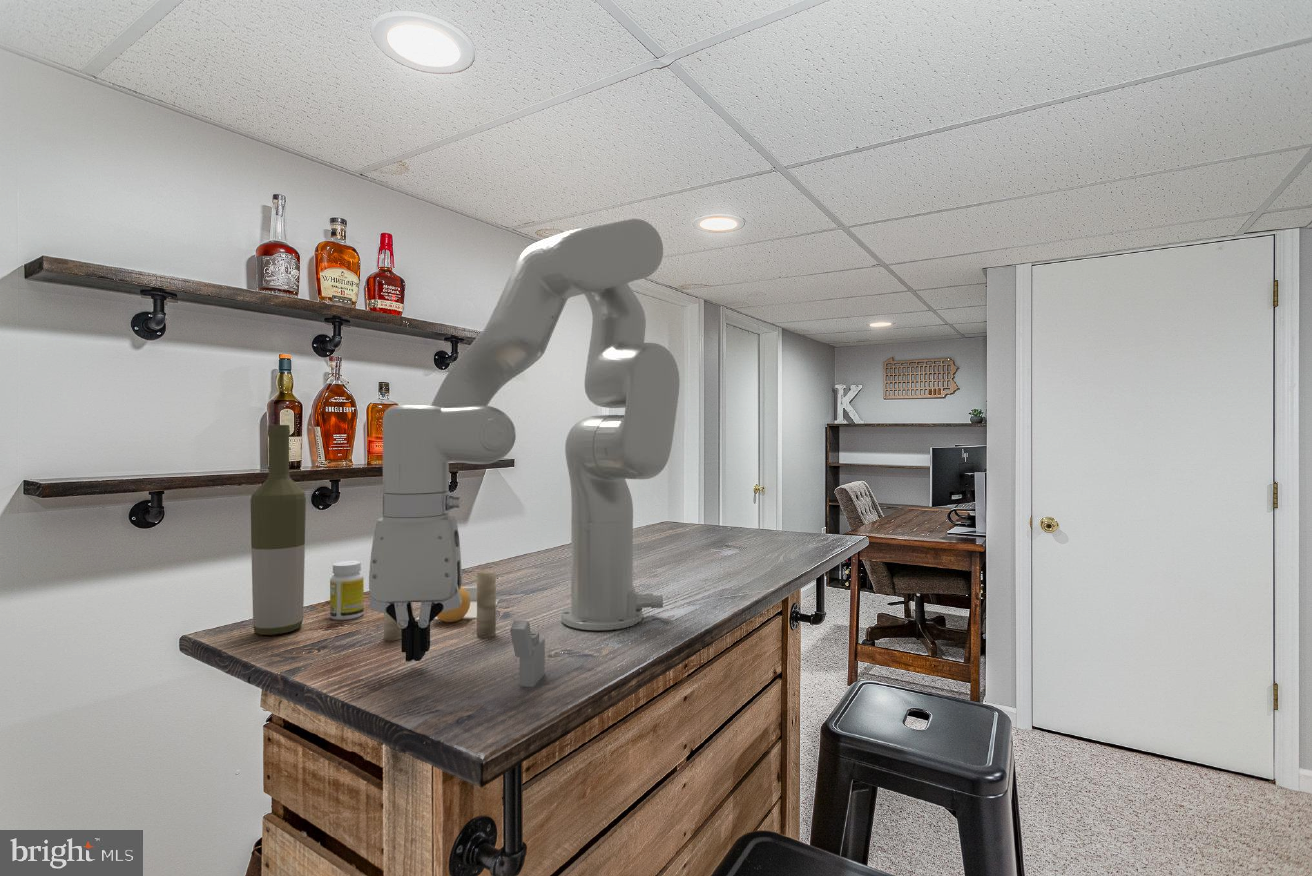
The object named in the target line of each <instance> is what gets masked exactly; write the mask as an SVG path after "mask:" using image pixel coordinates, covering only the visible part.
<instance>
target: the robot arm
mask: <svg viewBox="0 0 1312 876" xmlns="http://www.w3.org/2000/svg"><path fill="white" fill-rule="evenodd" d="M663 244H664V243H663V240H662V237H661V235H660V233H659V232H658V230H657V229H656V228H655V227H654V226H653V225H652V224H651V223H649V222H648V221H645V220H644V219H640V218H631V219H623V220H620V221H614V222H610V223H606V224H599V225H595V226H589V227H588V226H587V227H583V228H578V229H573V230H568V231H564V232H562V233H558V234H556V235H553V236H550V237H548V238H547V237H546V238H544V239H542V240H539V241H537V242H534V243H532V244H530V245H529V246H527V247H526V248H524V250H523V251H522V252H521V254H520V255H519V257H518V258H517V260H516V263H515V265H514V266H513V269H512V271H511V273H510V275H509V277H508V279H507V281H506V283H505V286H504V288H503V290H502V292H501V294H500V296H499V299H498V301H497V303H496V306H495V308H494V309H493V310H492V314H491V315H490V318H489V320H488V321H487V323H486V325H485V327H484V329H483V330H482V331H481V332H480V334H479V335H478V336H477V337H476V338H475V339H474V340H473V341H472V342H471V344H470V345H469V346H468V348H467V349H466V350H465V352H464V353H463V354H462V355H461V356H460V358H459V359H458V360H457V361H456V362H455V364H454V365H453V366H452V367H451V369H450V370H449V372H448V373H447V374H446V376H445V378H444V379H443V380H442V383H441V384H440V386H439V388H438V390H437V393H436V394H435V396H434V398H433V400H432V402H431V405H425V404H422V405H421V404H398V405H391V406H390V407H388V408H387V409H386V410H385V411H384V413H383V416H382V517H379V518H378V519H376V524H375V529H374V533H373V538H372V539H373V540H372V543H371V544H372V545H371V552H370V562H369V571H368V574H369V575H368V593H369V596H370V600H369V602H368V609H369V610H370V611H373V612H377V613H383V614H384V613H387V614H388V615H389V616H391V617H392V618H393V619H394V620H395V621H396V622H397V624H398V626H399V627H400V628H401V639H400V640H401V643H400V644H401V645H400V646H401V647H400V648H401V653H405V662H411V661H415V662H420V661H421V660H423V657H424V656H425V655H426V652H427V653H428V652H429V651H430V648H431V623H432V622H433V621H434V620H433V619H434V618H435V617H436V616H437V615H438V614H440V613H441V612H444V611H448V610H452V609H456V608H458V607H459V606H460V605H461V604H462V599H461V595H460V591H459V589H460V588H461V587H462V583H463V571H462V570H463V569H462V556H461V555H462V554H461V553H462V552H461V541H460V535H459V528H458V522H457V518H456V516H455V515H449V513H450V512H451V511H452V510H454V509H456V508H457V509H460V508H461V505H462V504H461V503H462V499H461V496H454V495H452V493H451V491H450V490H449V487H450V485H449V482H450V481H449V474H450V473H449V471H450V470H449V468H450V465H449V464H450V463H462V464H463V463H465V464H469V465H471V464H474V465H487V464H492V463H493V464H494V463H496V462H498V461H500V460H502V459H504V458H505V457H507V455H508V454H509V453H510V452H511V451H512V449H513V447H514V445H515V442H516V439H517V438H516V437H517V435H516V434H517V433H516V431H517V430H516V427H515V424H514V422H513V420H512V419H511V418H510V417H509V415H507V414H506V413H505V412H504V411H503V410H500V409H499V408H497V407H494V406H492V405H491V406H489V404H490V403H491V401H492V399H493V398H494V396H495V395H496V394H497V393H499V391H500V389H502V388H503V386H505V385H506V384H507V383H509V381H511V380H513V379H514V378H516V377H517V376H519V375H520V374H522V373H523V372H524V371H526V370H528V369H529V368H530V367H532V366H533V365H534V364H535V363H537V362H538V361H539V360H540V359H541V358H542V357H543V355H544V354H545V352H546V350H547V348H548V345H549V342H550V341H551V338H552V335H553V333H554V331H555V329H556V326H557V324H558V321H559V319H560V317H561V314H562V312H563V310H564V309H565V306H566V303H567V301H569V299H570V298H573V297H577V296H580V295H584V296H585V297H586V300H587V302H588V304H589V307H590V309H591V310H590V311H591V315H592V317H591V318H592V324H591V333H590V334H591V335H590V341H589V348H588V354H587V361H586V367H585V374H584V390H585V394H586V396H587V398H588V400H589V401H590V402H591V403H592V404H593V405H596V406H597V407H602V408H606V409H607V408H608V409H624V414H604V415H603V414H599V415H592V416H589V417H585V418H582V419H580V420H579V421H577V422H576V423H575V424H574V425H573V426H572V427H571V428H570V430H569V432H568V433H567V436H566V440H565V446H564V447H565V448H564V449H565V461H566V465H567V466H566V467H567V470H568V477H569V483H570V497H571V518H570V519H571V520H570V521H571V523H570V524H571V525H570V526H571V529H570V530H571V532H570V533H571V542H570V543H571V544H570V546H571V548H570V549H571V550H570V551H571V552H570V554H571V559H570V560H571V566H570V568H571V569H570V570H571V577H570V581H571V582H570V583H571V585H570V588H571V590H570V592H571V593H570V595H571V596H570V598H571V599H570V604H571V605H570V606H568V607H566V608H565V609H563V610H562V611H561V614H560V620H561V622H562V624H564V625H565V626H568V627H570V628H573V629H579V630H584V631H612V630H613V631H614V629H615V630H622V629H625V628H626V627H627V628H630V627H633V626H635V625H634V624H636V625H638V624H639V623H640V622H641V621H642V620H643V615H644V614H643V608H647V609H648V608H650V609H662V608H664V607H663V605H664V598H663V595H662V594H661V595H660V594H657V595H654V593H650V592H649V593H639V592H636V589H635V586H634V575H633V573H634V571H633V570H634V568H633V567H634V565H633V564H634V563H633V562H634V538H633V537H634V505H633V499H632V495H631V491H630V488H629V486H628V484H627V480H649V479H653V478H655V477H656V476H658V475H659V474H660V473H662V472H663V470H664V469H665V467H666V466H667V463H668V462H669V458H670V455H671V451H672V446H673V441H674V435H675V433H674V432H675V426H676V425H675V424H676V417H677V409H678V402H679V396H680V395H679V394H680V386H681V385H680V383H681V382H680V372H679V368H678V364H677V361H676V359H675V357H674V355H673V354H672V353H671V351H670V350H669V349H668V348H666V347H665V346H663V345H662V344H659V343H656V342H645V336H646V328H647V327H646V326H647V322H646V320H647V319H646V313H645V311H644V307H643V306H642V303H641V302H640V300H639V298H638V297H637V295H636V294H635V292H634V291H633V290H632V288H631V287H630V285H629V283H631V282H635V281H638V280H642V279H646V278H648V277H651V276H652V275H653V274H654V273H656V271H657V270H658V269H659V267H660V266H661V264H662V261H663V258H664V245H663ZM413 603H420V607H419V614H418V617H419V620H416V618H415V614H414V608H413ZM638 622H639V623H638ZM637 623H638V624H637ZM629 626H630V627H629ZM621 628H622V629H621ZM627 628H626V629H627Z"/></svg>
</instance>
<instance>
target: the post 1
mask: <svg viewBox="0 0 1312 876" xmlns="http://www.w3.org/2000/svg"><path fill="white" fill-rule="evenodd" d="M383 640H385V641H387V642H388V641H389V642H390V641H391V642H392V641H399V640H401V628H400V627H399V626H398V624H397V622H396V621H395V620H394V619H393V618H392V617H391V616H389V615H388V614H387V613H383Z"/></svg>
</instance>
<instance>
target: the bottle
mask: <svg viewBox="0 0 1312 876" xmlns="http://www.w3.org/2000/svg"><path fill="white" fill-rule="evenodd" d="M267 427H268V428H267V436H268V476H267V479H265V480H264V482H263V483H262V484H261V485H260V486H259V487H258V488H257V489H256V490H255V491H254V492H253V493H252V494H251V498H250V538H251V539H250V541H251V543H250V545H251V547H250V548H251V552H250V553H251V586H252V587H251V588H252V589H251V590H252V591H251V592H252V593H251V595H252V627H253V631H254V633H257V634H258V635H263V636H277V635H278V634H279V635H283V634H288V632H289V633H290V632H293V631H295V630H298V629H300V628H302V625H303V621H304V607H305V606H304V603H305V600H304V599H305V598H304V597H305V596H304V595H305V557H306V516H307V515H306V510H307V508H306V507H307V506H306V505H307V504H306V503H307V497H306V493H305V491H304V490H303V489H302V488H301V487H300V486H299V485H298V484H297V483H296V482H295V480H293V479H292V478H291V475H290V436H291V429H290V424H268V425H267Z"/></svg>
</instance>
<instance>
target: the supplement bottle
mask: <svg viewBox="0 0 1312 876" xmlns="http://www.w3.org/2000/svg"><path fill="white" fill-rule="evenodd" d="M361 564H362V563H361V561H359V560H344V561H338V562H335V563H332V574H333V575H332V576H331V577H330V578H329V579H330V580H329V596H330V597H329V600H330V601H329V602H330V603H329V605H330V606H329V608H330V609H329V613H330V615H329V616H330V619H332V620H337V621H344V620H345V621H346V620H352V619H357V618H359V617H362V616H363V615H364V610H365V608H364V606H365V604H364V587H365V585H364V575H363V573H361V571H362V567H361V566H362V565H361Z"/></svg>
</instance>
